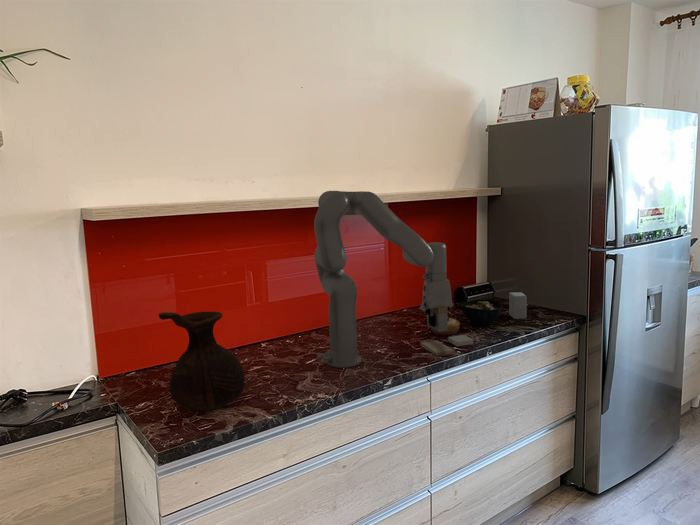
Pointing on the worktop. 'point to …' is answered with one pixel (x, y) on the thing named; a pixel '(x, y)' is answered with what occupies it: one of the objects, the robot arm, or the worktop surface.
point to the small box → (518, 305)
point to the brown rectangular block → (439, 319)
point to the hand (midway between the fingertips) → (437, 324)
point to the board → (437, 348)
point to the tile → (460, 340)
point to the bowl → (481, 311)
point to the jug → (204, 366)
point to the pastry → (449, 327)
